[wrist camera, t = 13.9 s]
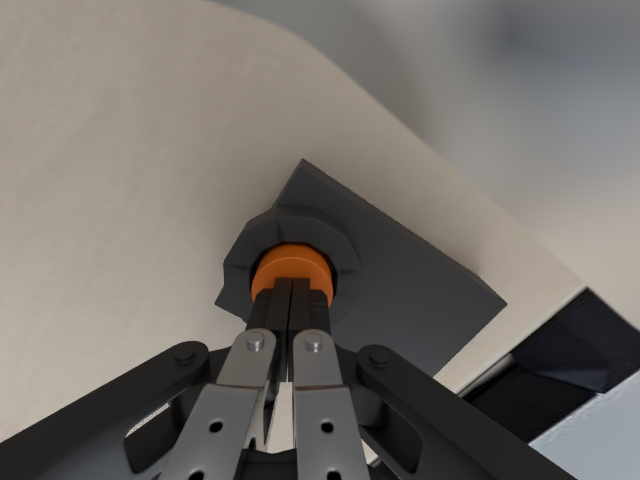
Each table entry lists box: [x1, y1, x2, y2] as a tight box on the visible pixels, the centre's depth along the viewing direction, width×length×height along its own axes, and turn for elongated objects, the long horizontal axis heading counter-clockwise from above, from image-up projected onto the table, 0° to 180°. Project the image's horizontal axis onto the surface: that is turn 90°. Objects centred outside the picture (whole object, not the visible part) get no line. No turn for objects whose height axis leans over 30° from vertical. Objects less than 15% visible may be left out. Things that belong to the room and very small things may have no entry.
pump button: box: [251, 241, 333, 308], centre depth 14 cm, size 4×4×2 cm
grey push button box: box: [215, 159, 507, 377], centre depth 18 cm, size 15×9×5 cm, turn 56°
